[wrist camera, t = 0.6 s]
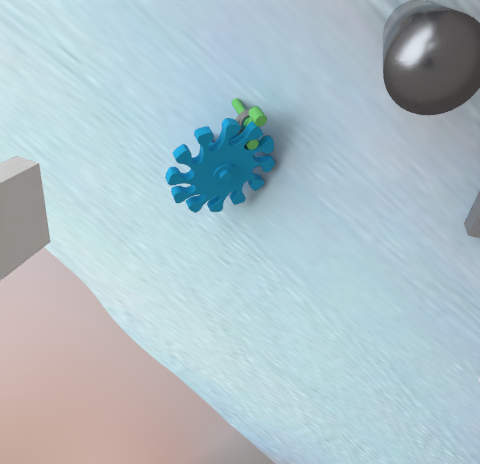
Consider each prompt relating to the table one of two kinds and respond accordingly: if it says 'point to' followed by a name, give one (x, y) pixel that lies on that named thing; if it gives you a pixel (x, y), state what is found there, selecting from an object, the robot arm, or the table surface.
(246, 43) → the table surface
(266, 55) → the table surface
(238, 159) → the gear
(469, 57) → the pin
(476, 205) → the nut plate
